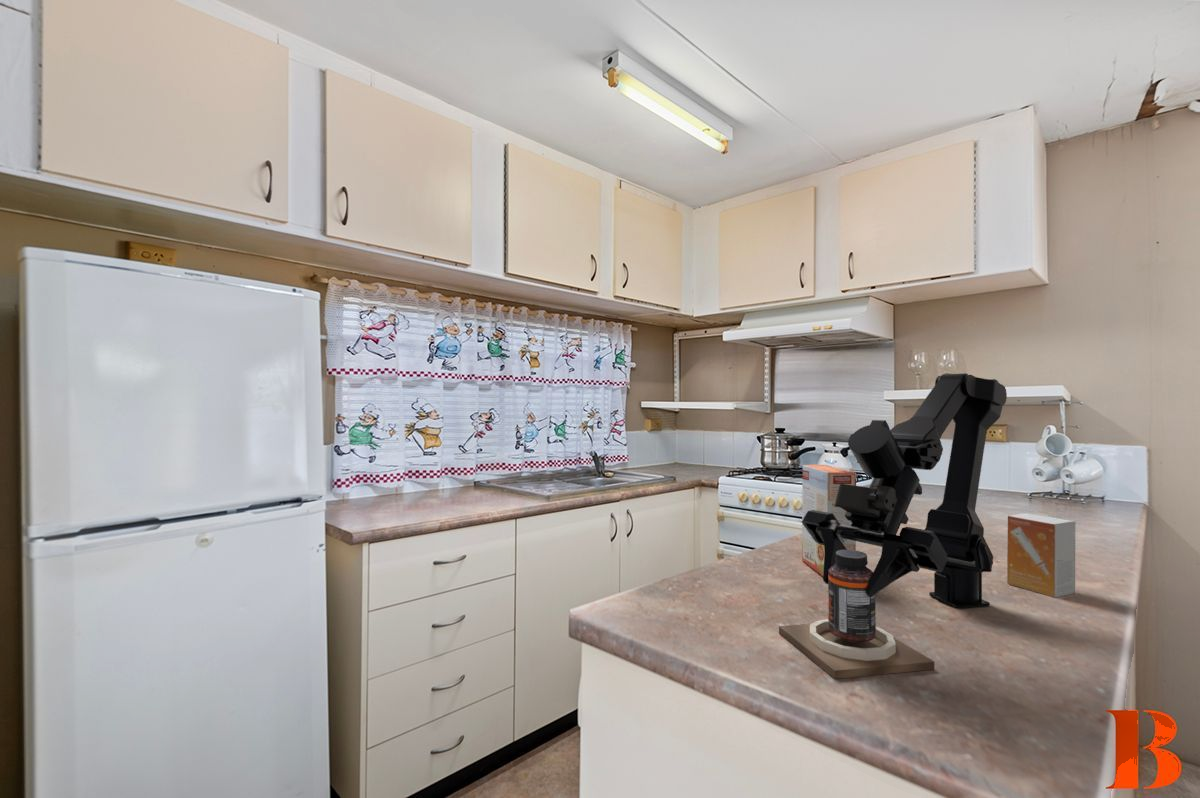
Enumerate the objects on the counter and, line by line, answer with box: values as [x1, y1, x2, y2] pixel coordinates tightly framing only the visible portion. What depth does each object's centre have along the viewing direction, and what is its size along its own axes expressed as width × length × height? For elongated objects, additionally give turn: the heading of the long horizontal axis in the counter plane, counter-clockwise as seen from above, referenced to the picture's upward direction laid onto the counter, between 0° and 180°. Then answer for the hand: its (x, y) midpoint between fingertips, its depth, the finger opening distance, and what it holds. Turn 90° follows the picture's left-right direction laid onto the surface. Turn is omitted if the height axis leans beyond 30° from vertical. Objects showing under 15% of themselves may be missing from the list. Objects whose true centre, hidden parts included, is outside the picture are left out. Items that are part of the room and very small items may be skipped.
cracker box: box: [801, 464, 857, 577], centre depth 114 cm, size 14×6×21 cm, turn 179°
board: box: [778, 623, 935, 680], centre depth 77 cm, size 14×14×1 cm
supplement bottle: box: [827, 550, 877, 642], centre depth 78 cm, size 6×6×11 cm
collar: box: [809, 618, 896, 661], centre depth 77 cm, size 11×11×1 cm
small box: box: [1006, 512, 1076, 598], centre depth 103 cm, size 8×6×13 cm
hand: (846, 588), depth 77 cm, fingers closed on supplement bottle, 6 cm apart
